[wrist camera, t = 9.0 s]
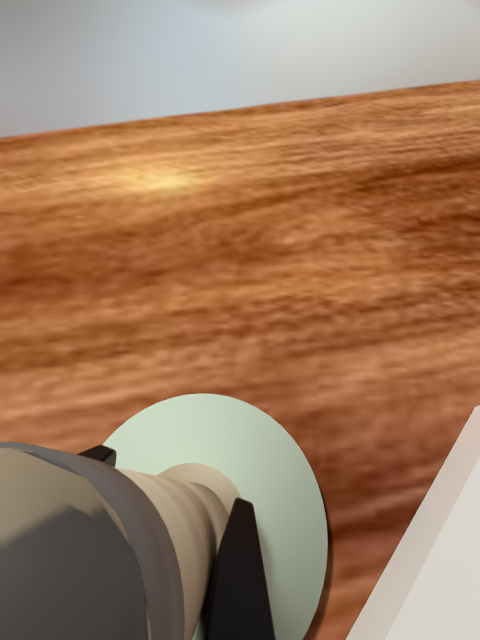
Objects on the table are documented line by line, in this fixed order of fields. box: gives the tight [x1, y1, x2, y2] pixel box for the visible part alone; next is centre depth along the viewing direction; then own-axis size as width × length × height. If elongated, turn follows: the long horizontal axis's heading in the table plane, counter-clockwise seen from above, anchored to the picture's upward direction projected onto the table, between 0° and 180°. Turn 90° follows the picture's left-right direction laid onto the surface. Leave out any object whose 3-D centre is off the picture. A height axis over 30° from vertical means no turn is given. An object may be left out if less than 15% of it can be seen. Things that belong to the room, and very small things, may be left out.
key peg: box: [0, 442, 242, 640], centre depth 7 cm, size 4×4×12 cm
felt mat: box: [103, 394, 328, 640], centre depth 14 cm, size 11×11×1 cm
